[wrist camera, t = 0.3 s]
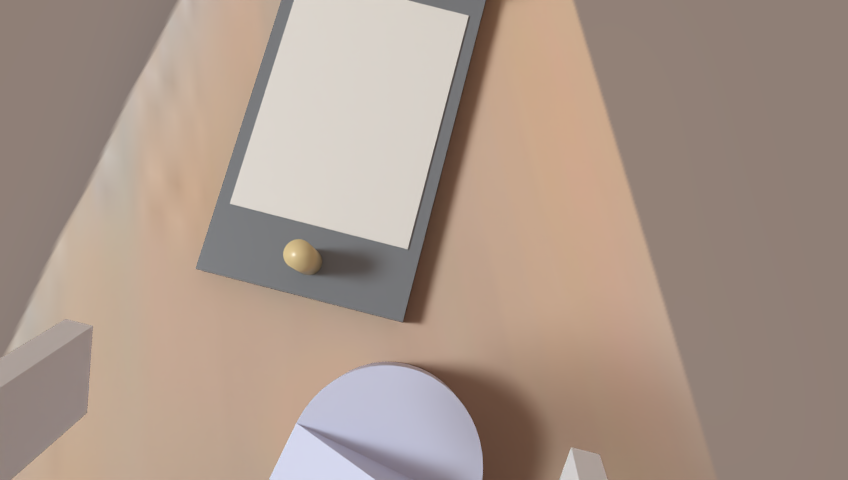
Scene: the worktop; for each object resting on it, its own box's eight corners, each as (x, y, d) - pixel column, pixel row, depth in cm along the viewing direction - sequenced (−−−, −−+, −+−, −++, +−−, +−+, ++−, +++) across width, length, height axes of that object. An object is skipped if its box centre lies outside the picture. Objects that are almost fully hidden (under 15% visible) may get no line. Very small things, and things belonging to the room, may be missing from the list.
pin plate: (402, 322, 31) (402, 320, 27) (202, 270, 31) (172, 261, 27) (493, -28, 34) (504, -75, 31) (311, -74, 35) (299, -127, 31)
